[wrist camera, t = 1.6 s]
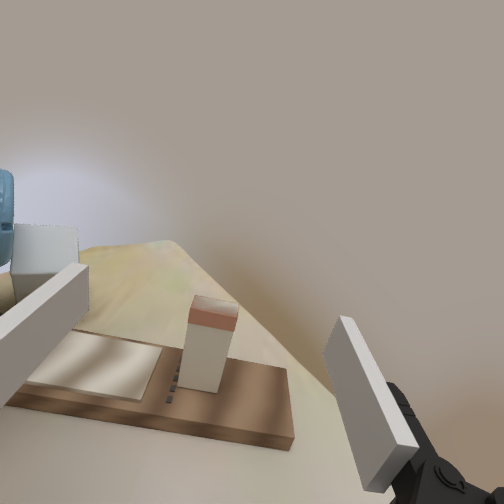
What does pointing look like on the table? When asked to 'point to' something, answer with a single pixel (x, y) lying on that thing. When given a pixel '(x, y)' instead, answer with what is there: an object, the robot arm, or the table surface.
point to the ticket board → (159, 391)
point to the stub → (207, 343)
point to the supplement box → (40, 255)
